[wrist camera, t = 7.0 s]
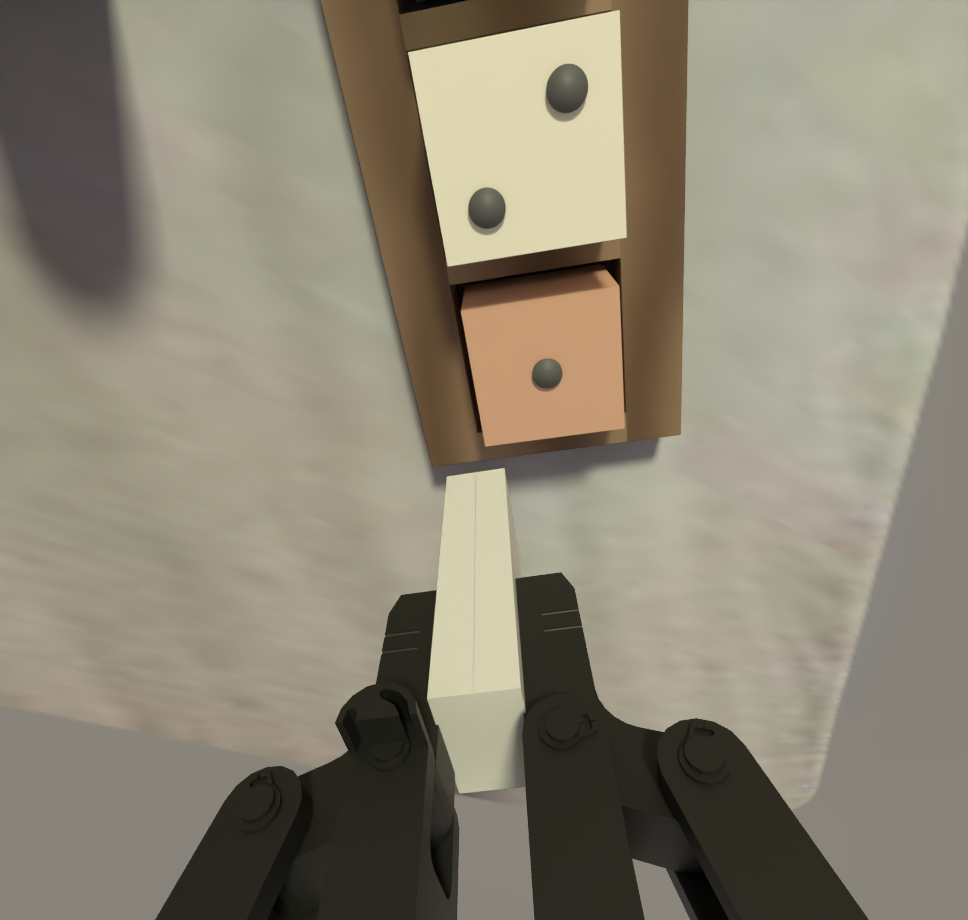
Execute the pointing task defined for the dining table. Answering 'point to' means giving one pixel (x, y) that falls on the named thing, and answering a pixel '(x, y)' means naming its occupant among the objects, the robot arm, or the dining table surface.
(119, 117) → the dining table surface
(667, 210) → the brown rectangular frame
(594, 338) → the peach drawer with knob
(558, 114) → the cream two-knob drawer
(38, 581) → the dining table surface
